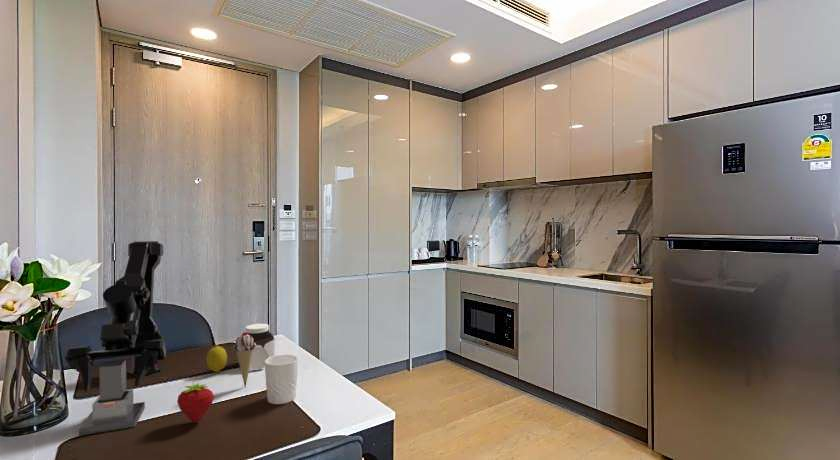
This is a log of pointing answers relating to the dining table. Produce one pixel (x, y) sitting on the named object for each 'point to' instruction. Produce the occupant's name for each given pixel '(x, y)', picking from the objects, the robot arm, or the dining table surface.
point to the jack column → (112, 380)
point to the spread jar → (261, 345)
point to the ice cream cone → (244, 353)
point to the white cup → (281, 378)
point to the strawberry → (195, 401)
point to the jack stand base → (112, 415)
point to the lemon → (216, 359)
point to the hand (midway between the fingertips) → (111, 388)
